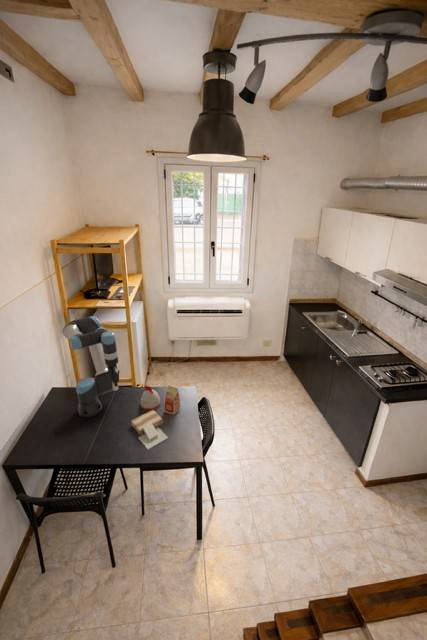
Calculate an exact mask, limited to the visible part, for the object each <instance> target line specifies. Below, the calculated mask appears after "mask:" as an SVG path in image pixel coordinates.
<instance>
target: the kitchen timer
mask: <svg viewBox="0 0 427 640" xmlns="http://www.w3.org/2000/svg"><path fill="white" fill-rule="evenodd" d="M144 389H145V391H144V392H143V393H142V395H141V398H140V408H141V409H143V410H145V411H151V410H154V411H155V410H156V409H158V408H159V407H160V405H161V398H160V394H159V392H157V391H156V390H155V389H153V388H151V386H149V385H147V384H145V385H144Z"/></svg>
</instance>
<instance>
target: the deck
mask: <svg viewBox="0 0 427 640" xmlns="http://www.w3.org/2000/svg"><path fill="white" fill-rule="evenodd" d="M130 421H131V422H130V423H131V426H132V427H133V428H134V430H135V431H136V432H137V434H138V435H140V436H142V435H144V434H145V432H144V430H143V429H142V427H143V426H145V425H146V424H148V423H150V422H152V424H153V426H154V428H157V427H160V426H162V425H163V424H164V422H163V421H164V420H163V417H162V416H160V415H159V414H158V413H157V412H156V411H155V409H154V410H148V412H146V413H144V414H141V415H140V416H138V417H135V418H134V419H131V420H130ZM140 436H139V437H140Z"/></svg>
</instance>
